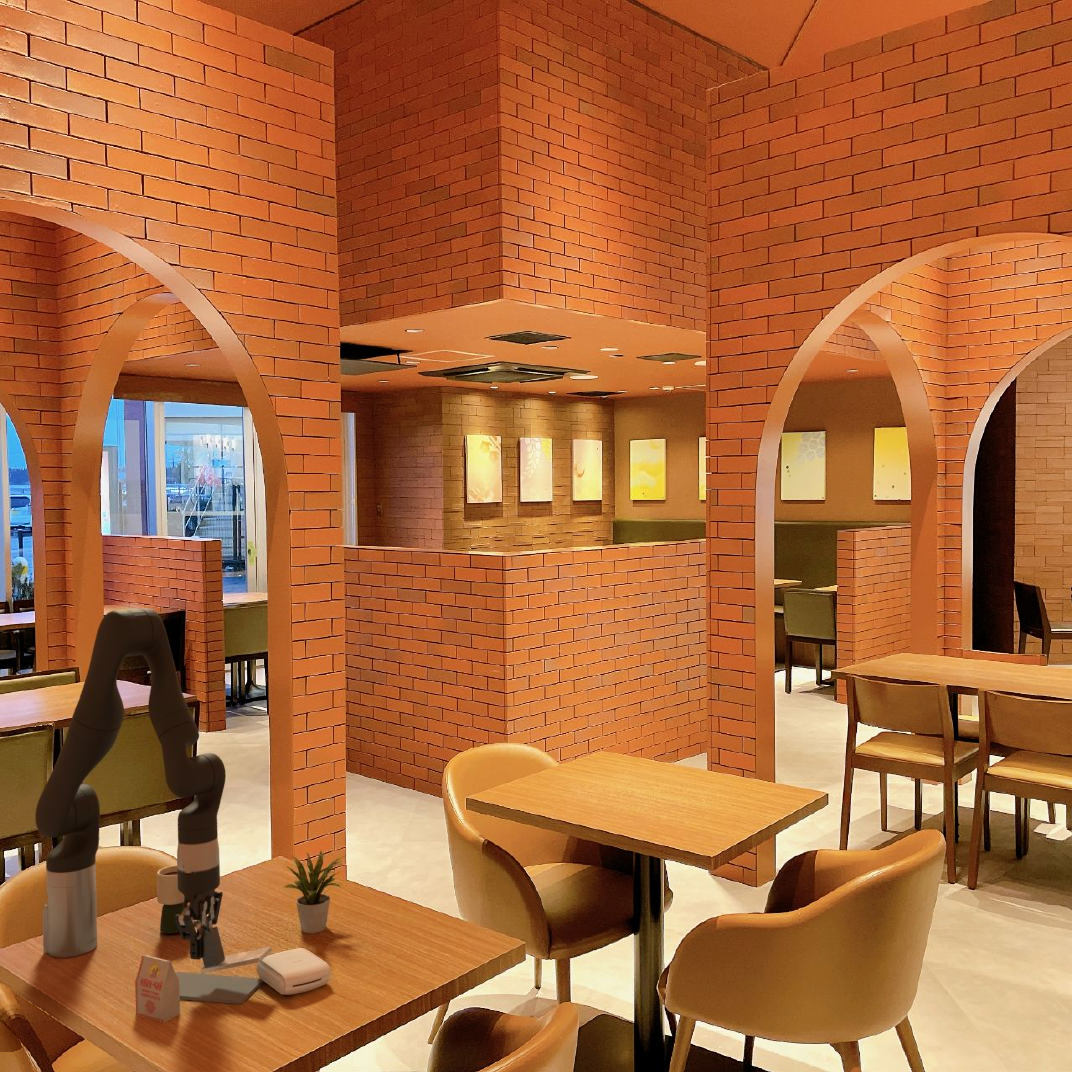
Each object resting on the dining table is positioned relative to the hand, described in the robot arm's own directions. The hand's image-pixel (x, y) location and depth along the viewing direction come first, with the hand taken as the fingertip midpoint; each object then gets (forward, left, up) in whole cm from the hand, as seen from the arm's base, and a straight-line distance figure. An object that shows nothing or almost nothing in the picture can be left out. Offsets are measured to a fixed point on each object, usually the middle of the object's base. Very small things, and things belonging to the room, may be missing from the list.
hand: (200, 954), depth 189 cm
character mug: (-20, +24, -7) cm, 32 cm away
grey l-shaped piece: (+7, 0, -1) cm, 7 cm away
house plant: (+10, +29, -7) cm, 32 cm away
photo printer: (+12, +9, -4) cm, 15 cm away
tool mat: (+1, 0, -6) cm, 7 cm away
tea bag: (-3, -10, -7) cm, 12 cm away
